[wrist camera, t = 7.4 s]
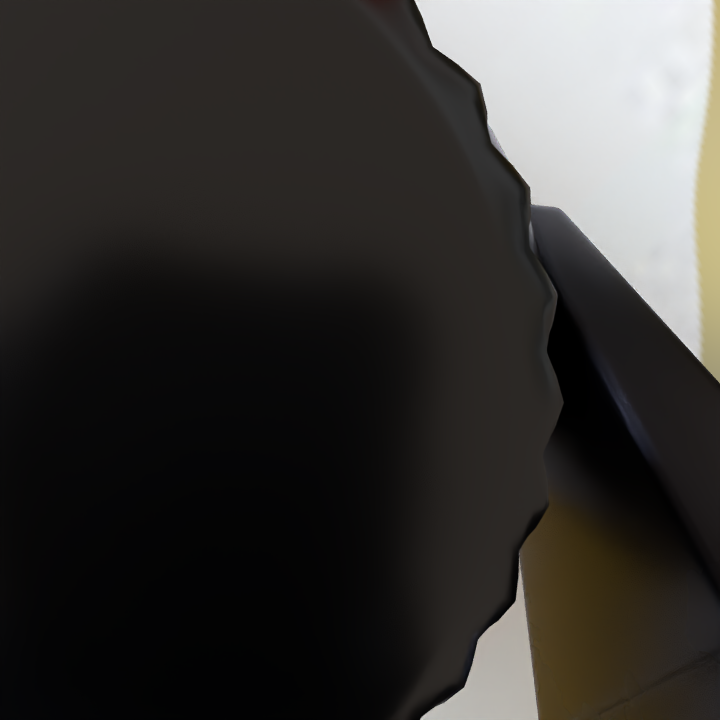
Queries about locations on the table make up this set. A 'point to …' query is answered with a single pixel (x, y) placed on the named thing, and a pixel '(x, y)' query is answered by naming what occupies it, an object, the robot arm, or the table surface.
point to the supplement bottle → (257, 362)
